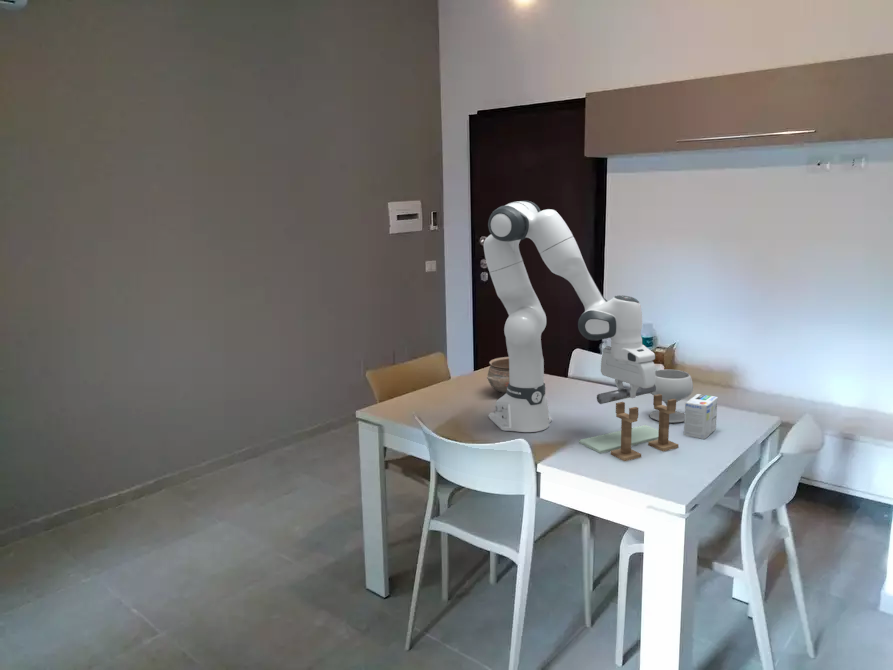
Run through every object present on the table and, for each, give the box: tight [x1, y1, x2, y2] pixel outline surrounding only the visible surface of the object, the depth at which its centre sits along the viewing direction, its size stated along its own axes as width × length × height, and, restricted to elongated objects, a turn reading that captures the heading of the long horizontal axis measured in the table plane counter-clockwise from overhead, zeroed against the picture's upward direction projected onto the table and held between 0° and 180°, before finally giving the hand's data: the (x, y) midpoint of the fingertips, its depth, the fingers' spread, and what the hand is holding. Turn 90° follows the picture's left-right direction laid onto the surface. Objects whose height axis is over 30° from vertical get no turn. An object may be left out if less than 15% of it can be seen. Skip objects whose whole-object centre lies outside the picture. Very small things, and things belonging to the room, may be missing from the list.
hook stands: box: [610, 394, 679, 462], centre depth 189 cm, size 6×20×15 cm, turn 116°
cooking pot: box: [486, 356, 509, 395], centre depth 249 cm, size 25×19×12 cm
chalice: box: [649, 368, 694, 424], centre depth 216 cm, size 14×14×15 cm
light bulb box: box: [683, 393, 719, 440], centre depth 203 cm, size 11×7×11 cm, turn 141°
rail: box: [596, 384, 656, 405], centre depth 196 cm, size 20×3×3 cm, turn 116°
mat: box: [578, 424, 659, 454], centre depth 199 cm, size 10×26×1 cm, turn 116°
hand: (626, 395), depth 197 cm, fingers closed on rail, 3 cm apart
